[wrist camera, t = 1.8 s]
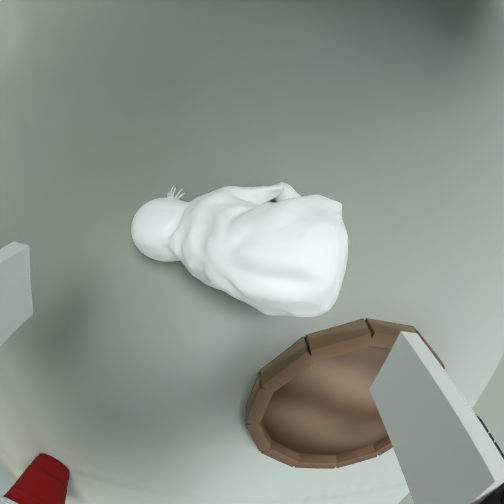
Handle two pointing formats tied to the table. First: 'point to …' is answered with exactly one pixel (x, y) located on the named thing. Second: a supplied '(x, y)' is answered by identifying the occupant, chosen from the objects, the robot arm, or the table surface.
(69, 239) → the table surface
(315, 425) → the coaster
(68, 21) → the table surface
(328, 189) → the table surface
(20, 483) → the plastic cup
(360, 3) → the table surface
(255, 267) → the white piece
